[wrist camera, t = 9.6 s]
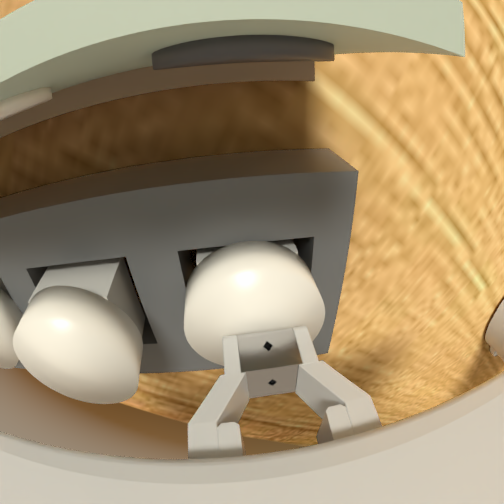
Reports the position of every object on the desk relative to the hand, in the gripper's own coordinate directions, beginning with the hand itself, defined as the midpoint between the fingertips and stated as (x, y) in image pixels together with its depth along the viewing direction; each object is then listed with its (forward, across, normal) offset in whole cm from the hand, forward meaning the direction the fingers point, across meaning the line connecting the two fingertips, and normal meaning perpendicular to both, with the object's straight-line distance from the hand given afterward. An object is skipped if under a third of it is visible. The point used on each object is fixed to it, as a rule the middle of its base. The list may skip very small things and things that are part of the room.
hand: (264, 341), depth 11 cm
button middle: (+3, -7, 0) cm, 8 cm away
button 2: (+5, 0, 0) cm, 5 cm away
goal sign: (+5, -7, +10) cm, 13 cm away
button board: (+5, -7, 0) cm, 9 cm away
